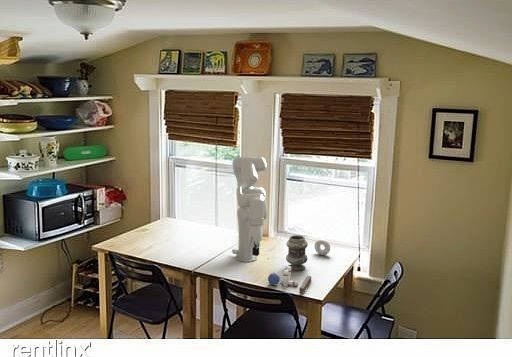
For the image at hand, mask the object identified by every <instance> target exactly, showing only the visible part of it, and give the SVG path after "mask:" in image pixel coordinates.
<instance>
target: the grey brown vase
mask: <svg viewBox="0 0 512 357" xmlns="http://www.w3.org/2000/svg"><path fill="white" fill-rule="evenodd" d="M308 244H309V243H308V241H307V240H306V238H305V236H304V235H300V234H294V235H290V236H289V239H288V240H287V241H286V243H285V245H286V247H287V248H288V254H287V255H286V256H285V260H286V262H287V263H289V264H288V266H290V267H291V272H303V271H305V270H306V266H305V265H304V264H306V263H307V261H308V260H309V259H308V256H307V254H306V249H307V247H308Z"/></svg>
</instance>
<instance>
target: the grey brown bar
mask: <svg viewBox="0 0 512 357" xmlns="http://www.w3.org/2000/svg"><path fill="white" fill-rule="evenodd" d="M310 282H311V283H312V275H307V276H306V277H305V279H304V280H303V282H302V284H301V285H300V286H299V290H298V291H299V293H302V294H301V295H304V294H305V292H306V291H305V290H307V289H308V287H309V286H310V284H311V283H310ZM309 283H310V284H309ZM308 285H309V286H308ZM306 288H307V289H306ZM303 293H304V294H303Z"/></svg>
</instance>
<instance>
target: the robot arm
mask: <svg viewBox="0 0 512 357" xmlns="http://www.w3.org/2000/svg"><path fill="white" fill-rule="evenodd" d="M232 171H233V173H234V176H235V178H236V179H235V180H236V183H237V188H236V201H237V205H238V209H237V211H236V216H237V221H238V224H237V225H238V247H237V248H238V249H234V248H232V250H231V253H232V254H234V255H235V259H236V260H237V261H239V262H242V263H243V262H245V263H250V262H251V263H253V262H255V261H256V260H258V256H259V255H260V246H261V241H262V240H263V239H264V238H263V235H264V231H263V230H264V228H263V226H264V223H265V222H266V221H268V216H269V214H268V204H267V194H266V190H265V189H264V188H263V187H261V186H259V187H258V186H256V187H255V185H257V184H258V182H259V176H258V173H265V172H266V171H267V162H266V159H265V158H264V157H262V156H238V157H235V158H233V159H232Z"/></svg>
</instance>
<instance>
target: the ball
mask: <svg viewBox="0 0 512 357" xmlns="http://www.w3.org/2000/svg"><path fill="white" fill-rule="evenodd" d="M280 278H281V277H280V276H279V274H277V273H275V272H273V273H270V274H269V275H268V277H267V281H268V283H269V285H272V286H276V285H278V284H279V283H280V282H281V279H280Z"/></svg>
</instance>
